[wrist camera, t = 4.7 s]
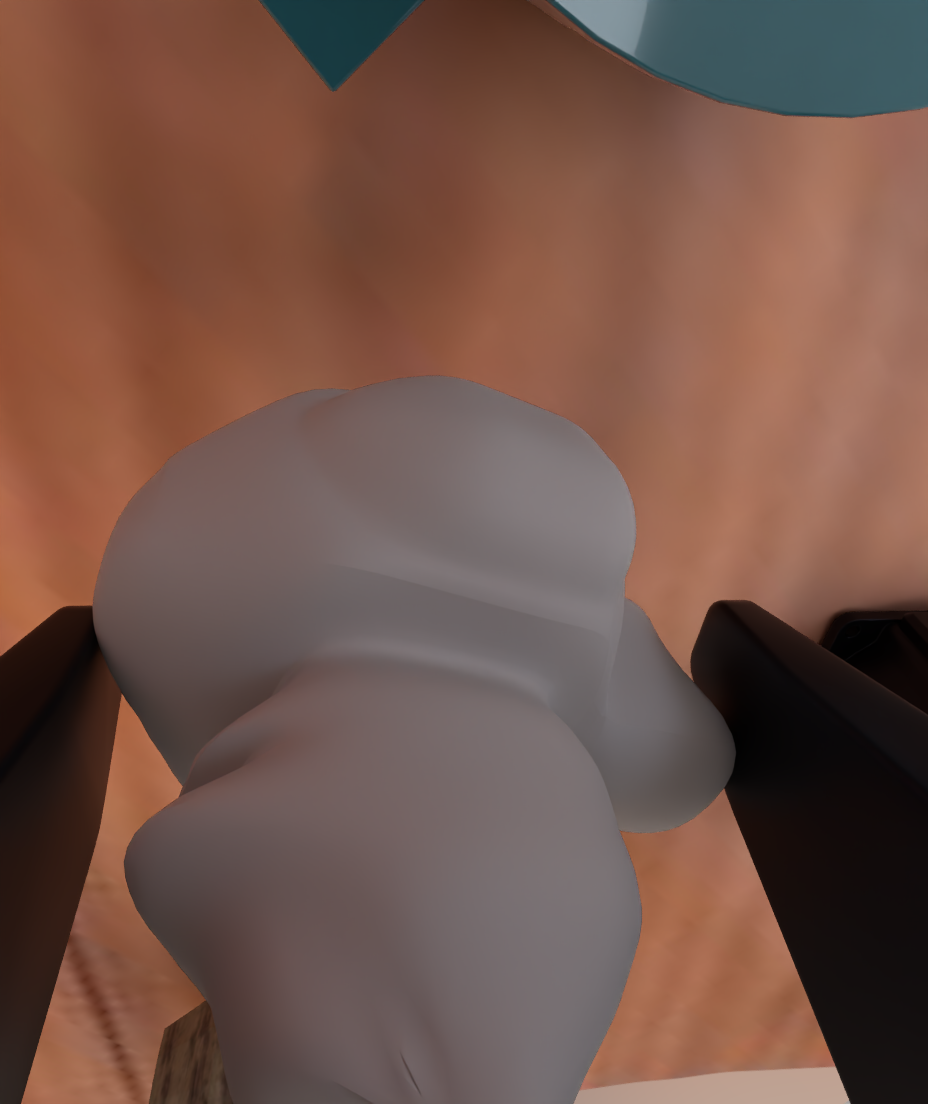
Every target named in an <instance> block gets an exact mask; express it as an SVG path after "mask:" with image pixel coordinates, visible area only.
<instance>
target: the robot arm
mask: <svg viewBox="0 0 928 1104" xmlns="http://www.w3.org/2000/svg"><path fill="white" fill-rule="evenodd" d="M92 608H93V606H66V607H63V608H61V609H59V610H57V611H56V612H55V613H53V614H52V615H51V616H50V617H49V618H47V619H46V620H45V621H44V622H42V623H41V624H40V625H39V626H37V627H36V628H35V629H34V630H32V631H31V632H30V633H29V634H28V635H26V636H25V637H24V638H23V639H21V640H20V641H19V642H18V643H16V644H15V645H14V646H13V647H12V648H10V649H9V650H8V651H7V652H5V653H4V654H3V655H2V656H0V1104H21V1101H22V1098H23V1095H24V1091H25V1088H26V1084H27V1081H28V1077H29V1074H30V1070H31V1067H32V1063H33V1060H34V1056H35V1053H36V1050H37V1046H38V1043H39V1039H40V1036H41V1032H42V1029H43V1025H44V1022H45V1018H46V1015H47V1012H48V1008H49V1005H50V1001H51V998H52V994H53V991H54V987H55V984H56V980H57V977H58V973H59V970H60V967H61V963H62V960H63V956H64V953H65V949H66V946H67V942H68V939H69V935H70V932H71V928H72V925H73V922H74V918H75V915H76V911H77V908H78V904H79V901H80V897H81V894H82V890H83V887H84V883H85V880H86V877H87V873H88V870H89V866H90V863H91V859H92V856H93V852H94V848H95V845H96V841H97V837H98V833H99V829H100V824H101V818H102V813H103V807H104V802H105V795H106V789H107V783H108V776H109V770H110V764H111V758H112V751H113V745H114V739H115V732H116V726H117V720H118V714H119V707H120V701H121V695H122V692H121V690H120V689H119V687H118V685H117V683H116V682H115V680H114V678H113V676H112V675H111V673H110V671H109V669H108V666H107V664H106V661H105V659H104V657H103V654H102V652H101V649H100V646H99V644H98V641H97V637H96V633H95V629H94V622H93V609H92ZM691 673H692V677H693V681H694V683H695V684H696V685H697V686H698V687H699V689H700V690H701V691H702V692H703V693H704V695H705V696H706V697H707V698H708V699H709V700H710V701H711V702H712V703H713V704H714V706H715V707H716V708H717V710H718V711H719V712H720V714H721V715H722V716H723V718H724V720H725V722H726V724H727V726H728V728H729V730H730V731H731V733H732V736H733V740H734V743H735V749H736V757H735V762H734V768H733V772H732V774H731V776H730V778H729V780H728V782H727V784H726V786H725V787H724V789H725V792H726V795H727V797H728V800H729V802H730V805H731V808H732V810H733V813H734V816H735V818H736V820H737V823H738V825H739V828H740V830H741V833H742V835H743V838H744V840H745V843H746V845H747V848H748V850H749V853H750V855H751V858H752V860H753V863H754V865H755V868H756V870H757V873H758V875H759V878H760V880H761V882H762V885H763V887H764V890H765V892H766V895H767V897H768V900H769V902H770V905H771V907H772V910H773V912H774V915H775V917H776V920H777V922H778V925H779V927H780V930H781V932H782V935H783V937H784V939H785V942H786V944H787V947H788V949H789V952H790V954H791V957H792V959H793V962H794V964H795V967H796V969H797V972H798V974H799V977H800V979H801V982H802V984H803V987H804V989H805V992H806V994H807V997H808V999H809V1001H810V1004H811V1006H812V1009H813V1011H814V1014H815V1016H816V1019H817V1021H818V1024H819V1026H820V1029H821V1031H822V1034H823V1036H824V1039H825V1041H826V1044H827V1046H828V1049H829V1051H830V1054H831V1056H832V1058H833V1061H834V1063H835V1066H836V1068H837V1071H838V1073H839V1076H840V1078H841V1081H842V1083H843V1086H844V1088H845V1091H846V1093H847V1096H848V1098H849V1101H850V1103H851V1104H928V611H878V612H848V613H845V614H843V615H840V616H839V617H838V618H837V619H835V621H834V622H833V623H832V625H831V627H830V629H829V631H828V633H827V635H826V637H825V639H824V641H823V643H822V645H821V646H820V645H819V644H817V643H815V642H814V641H812V640H811V639H809V638H808V637H806V636H805V635H803V634H801V633H800V632H798V631H797V630H795V629H794V628H792V627H791V626H789V625H788V624H786V623H784V622H783V621H781V620H780V619H778V618H777V617H775V616H774V615H772V614H770V613H769V612H767V611H766V610H764V609H763V608H761V607H760V606H758V605H756V604H755V603H753V602H751V601H747V600H720V601H717V602H715V603H713V604H712V605H711V606H710V608H709V610H708V612H707V614H706V617H705V619H704V622H703V625H702V627H701V630H700V632H699V635H698V638H697V640H696V643H695V645H694V648H693V651H692V654H691Z"/></svg>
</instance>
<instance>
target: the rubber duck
mask: <svg viewBox="0 0 928 1104" xmlns="http://www.w3.org/2000/svg"><path fill="white" fill-rule="evenodd" d="M635 542H636V517H635V511H634V504H633V501H632V498H631V495H630V492H629V489H628V487H627V485H626V483H625V481H624V479H623V477H622V475H621V473H620V472H619V470H618V468H617V467H616V466H615V464H614V463H613V462H612V461H611V460H610V459H609V457H608V456H607V455H606V454H605V453H604V452H603V450H602V449H601V448H600V447H599V445H598V444H597V443H596V442H595V441H594V440H593V438H592V437H590V436H589V435H588V434H587V433H586V432H585V431H584V430H583V429H582V428H581V427H579V426H578V425H576V424H574V423H573V422H571V421H569V420H568V419H566V418H563V417H561V416H559V415H557V414H555V413H552V412H550V411H547V410H545V409H542V408H540V407H537V406H534V405H532V404H529V403H527V402H524V401H522V400H519V399H517V398H514V397H512V396H509V395H507V394H504V393H502V392H499V391H497V390H494V389H492V388H489V387H487V386H484V385H481V384H478V383H475V382H473V381H469V380H465V379H461V378H455V377H448V376H417V377H407V378H399V379H394V380H389V381H384V382H380V383H375V384H371V385H367V386H364V387H361V388H357V389H354V390H344V389H317V390H310V391H306V392H301V393H297V394H294V395H291V396H288V397H286V398H283V399H280V400H277V401H275V402H273V403H271V404H269V405H267V406H265V407H262V408H260V409H258V410H256V411H254V412H252V413H250V414H247V415H245V416H244V417H242V418H240V419H238V420H236V421H234V422H232V423H230V424H228V425H226V426H224V427H222V428H220V429H218V430H216V431H214V432H212V433H210V434H209V435H207V436H205V437H203V438H201V439H199V440H197V441H196V442H194V443H192V444H190V445H188V446H187V447H185V448H183V449H182V450H180V451H179V452H177V453H176V454H174V455H173V456H172V457H170V458H169V459H168V460H167V462H166V463H165V464H164V466H163V467H162V468H161V469H160V470H159V471H158V472H157V473H156V474H155V475H154V476H153V477H152V478H151V479H150V480H149V481H148V482H147V483H146V484H145V485H144V486H143V487H142V488H141V489H140V490H139V491H138V492H137V493H136V494H135V495H134V496H133V498H132V499H131V500H130V501H129V502H128V504H127V506H126V507H125V509H124V510H123V512H122V513H121V515H120V516H119V518H118V520H117V523H116V525H115V527H114V529H113V531H112V533H111V536H110V539H109V541H108V544H107V546H106V549H105V552H104V555H103V559H102V562H101V566H100V570H99V574H98V577H97V581H96V586H95V590H94V597H93V608H92V609H93V622H94V629H95V633H96V637H97V641H98V644H99V646H100V649H101V652H102V654H103V657H104V659H105V661H106V664H107V666H108V669H109V671H110V673H111V675H112V676H113V678H114V680H115V682H116V683H117V685H118V687H119V689H120V690H121V692H122V694H123V696H124V697H125V699H126V701H127V702H128V703H129V705H130V706H131V707H132V709H133V710H134V712H135V713H136V714H137V716H138V717H139V719H140V721H141V722H142V724H143V726H144V728H145V730H146V732H147V733H148V735H149V737H150V739H151V740H152V741H153V743H154V744H155V746H156V747H157V749H158V750H159V752H160V753H161V754H162V756H163V758H164V759H165V761H166V763H167V764H168V766H169V768H170V769H171V771H172V772H173V774H174V775H175V777H176V778H177V779H178V781H179V782H180V783H181V785H182V786H183V787H182V790H181V793H180V795H179V798H178V799H176V800H175V801H173V802H172V803H170V804H169V805H167V806H166V807H165V808H163V809H162V810H161V811H159V812H158V813H157V814H155V815H154V816H153V817H151V818H150V819H149V820H147V821H146V822H145V823H144V824H143V825H142V827H141V828H140V829H139V830H138V831H137V832H136V833H135V834H134V836H133V838H132V840H131V841H130V843H129V845H128V847H127V851H126V855H125V859H124V869H125V878H126V881H127V885H128V888H129V892H130V894H131V897H132V899H133V902H134V904H135V907H136V909H137V911H138V912H139V914H140V915H141V917H142V918H143V920H144V921H145V923H146V924H147V926H148V928H149V929H150V930H151V931H152V932H153V934H154V935H155V936H156V937H157V939H158V940H159V941H160V942H161V943H162V945H163V946H164V947H165V948H166V949H167V951H168V952H169V953H170V955H171V956H172V957H173V959H174V960H175V962H176V963H177V964H178V966H179V967H180V968H181V969H182V970H183V972H184V973H185V974H186V975H187V976H188V977H189V979H190V980H191V981H192V982H193V983H194V984H195V986H196V987H197V988H198V989H199V991H200V992H201V994H202V995H203V997H204V998H205V999H206V1001H207V1002H208V1004H209V1005H210V1007H211V1010H212V1014H213V1019H214V1023H215V1027H216V1032H217V1036H218V1041H219V1046H220V1051H221V1056H222V1061H223V1067H224V1072H225V1076H226V1080H227V1084H228V1088H229V1092H230V1095H231V1098H232V1100H233V1103H234V1104H573V1103H574V1101H575V1099H576V1096H577V1094H578V1092H579V1089H580V1087H581V1085H582V1082H583V1080H584V1078H585V1076H586V1074H587V1072H588V1070H589V1068H590V1066H591V1063H592V1061H593V1059H594V1057H595V1055H596V1053H597V1051H598V1049H599V1047H600V1045H601V1043H602V1041H603V1039H604V1037H605V1035H606V1033H607V1031H608V1029H609V1027H610V1025H611V1023H612V1020H613V1018H614V1016H615V1013H616V1011H617V1008H618V1006H619V1003H620V1000H621V997H622V994H623V991H624V988H625V984H626V981H627V978H628V975H629V972H630V969H631V966H632V962H633V959H634V956H635V952H636V949H637V945H638V942H639V938H640V931H641V924H642V906H641V901H640V895H639V889H638V884H637V879H636V874H635V870H634V867H633V864H632V861H631V858H630V856H629V853H628V851H627V848H626V846H625V843H624V841H623V838H622V836H621V833H620V831H625V832H634V833H655V832H661V831H667V830H670V829H673V828H676V827H679V826H681V825H682V824H684V823H686V822H688V821H690V820H692V819H693V818H695V817H696V816H697V815H698V814H699V813H701V812H702V811H703V810H704V809H705V808H706V807H708V806H709V805H710V804H711V802H712V801H713V800H714V799H715V798H716V797H717V796H718V795H719V793H720V792H721V791H722V790H723V788H724V787H725V786H726V784H727V782H728V780H729V778H730V776H731V774H732V772H733V768H734V762H735V757H736V749H735V743H734V740H733V736H732V733H731V731H730V730H729V728H728V726H727V724H726V722H725V720H724V718H723V716H722V715H721V714H720V712H719V711H718V710H717V708H716V707H715V706H714V704H713V703H712V702H711V701H710V700H709V699H708V698H707V697H706V696H705V695H704V693H703V692H702V691H701V690H700V689H699V687H698V686H697V685H696V684H695V683H694V682H693V681H692V680H691V679H690V678H689V676H688V675H687V674H686V673H685V672H684V671H683V670H682V669H681V667H680V666H679V665H678V664H677V662H676V661H675V660H674V658H673V657H672V656H671V654H670V653H669V652H668V650H667V649H666V647H665V646H664V644H663V643H662V641H661V640H660V638H659V636H658V634H657V632H656V630H655V629H654V627H653V625H652V623H651V621H650V619H649V618H648V616H647V615H646V614H645V612H644V611H643V610H642V609H641V608H640V607H639V606H638V605H637V604H635V603H634V602H633V601H631V600H629V599H627V598H625V581H624V579H625V577H626V574H627V571H628V569H629V566H630V563H631V560H632V556H633V552H634V547H635ZM619 830H620V831H619Z"/></svg>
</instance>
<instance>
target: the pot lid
mask: <svg viewBox="0 0 928 1104" xmlns="http://www.w3.org/2000/svg"><path fill="white" fill-rule="evenodd" d="M539 1H540V2H541V3H543V4H544V5H545V6H546V7H547V8H549V9H550V10H551V11H552V12H553V13H555V14H556V15H557V16H558V17H559V18H561V19H562V20H563V21H564V22H565V23H567V24H568V25H569V26H570V27H571V28H573V29H574V30H575V31H576V32H577V33H579V34H580V35H581V36H582V37H583V38H585V39H586V40H588V41H590V42H591V43H593V44H595V45H596V46H598V47H600V48H602V49H603V50H605V51H607V52H608V53H610V54H612V55H613V56H615V57H617V58H618V59H620V60H622V61H623V62H625V63H627V64H628V65H630V66H632V67H633V68H635V69H637V70H639V71H640V72H642V73H644V74H645V75H647V76H650V77H653V78H655V79H658V80H660V81H663V82H665V83H668V84H671V85H673V86H676V87H678V88H681V89H683V90H686V91H689V92H691V93H694V94H696V95H699V96H702V97H704V98H707V99H709V100H713V101H716V102H719V103H723V104H728V105H733V106H738V107H743V108H748V109H753V110H758V111H763V112H768V113H773V114H778V115H783V116H800V117H830V118H857V117H865V116H873V115H881V114H889V113H897V112H905V111H913V110H920V109H923V108H927V107H928V0H539Z"/></svg>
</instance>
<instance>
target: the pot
mask: <svg viewBox="0 0 928 1104" xmlns="http://www.w3.org/2000/svg"><path fill="white" fill-rule="evenodd" d="M424 1H425V0H259V2H260V3H261V4H262V5H263V7H264V8H265V9H266V10H267V12H268V13H269V14H270V15H271V17H272V18H273V19H274V20H275V22H276V23H277V24H278V25H279V27H280V28H281V29H282V31H283V32H284V33H285V34H286V36H287V37H288V38H289V39H290V41H291V42H292V43H293V44H294V46H295V47H296V48H297V49H298V51H299V52H300V53H301V54H302V56H303V57H304V58H305V59H306V61H307V62H308V63H309V64H310V66H311V67H312V68H313V69H314V71H315V72H316V73H317V75H318V76H319V77H320V78H321V80H322V81H323V82H324V83H325V85H326V86H327V87H328V88H329V90H330V91H332V92H334V91H336V90H337V89H338V88H339V87H340V86H341V85H342V84H343V83H344V82H345V81H346V80H347V79H348V78H349V77H350V76H351V75H352V74H353V73H354V72H355V71H356V70H357V69H358V68H359V67H360V66H361V65H362V64H363V63H364V62H365V61H366V60H367V59H368V58H369V57H370V56H371V55H372V54H373V53H374V52H375V51H376V50H377V49H378V48H379V47H380V46H381V45H382V44H383V43H384V42H385V41H386V40H387V39H388V38H389V37H390V36H391V35H392V34H393V33H394V31H395V30H396V29H397V28H398V27H399V26H400V25H401V24H402V23H403V22H404V21H405V20H406V19H407V18H408V17H409V16H410V15H411V14H412V13H413V12H414V11H415V10H416V9H417V8H418V7H419V6H420V5H421V4H422V3H423V2H424ZM526 1H528V2H530V3H531V4H533V5H535V6H536V7H538V8H539V9H541V10H542V11H543V12H545V13H546V14H548V15H549V16H550V17H552V18H553V19H555V20H556V21H558V22H559V23H560V24H562V25H563V26H565V27H568V28H570V29H572V30H574V29H573V28H571V27H570V26H569V25H568V24H567V23H565V22H564V21H563V20H562V19H561V18H559V17H558V16H557V15H556V14H555V13H553V12H552V11H551V10H550V9H549V8H547V7H546V6H545V5H544V4H543V3H541V2H540V1H539V0H526Z"/></svg>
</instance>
